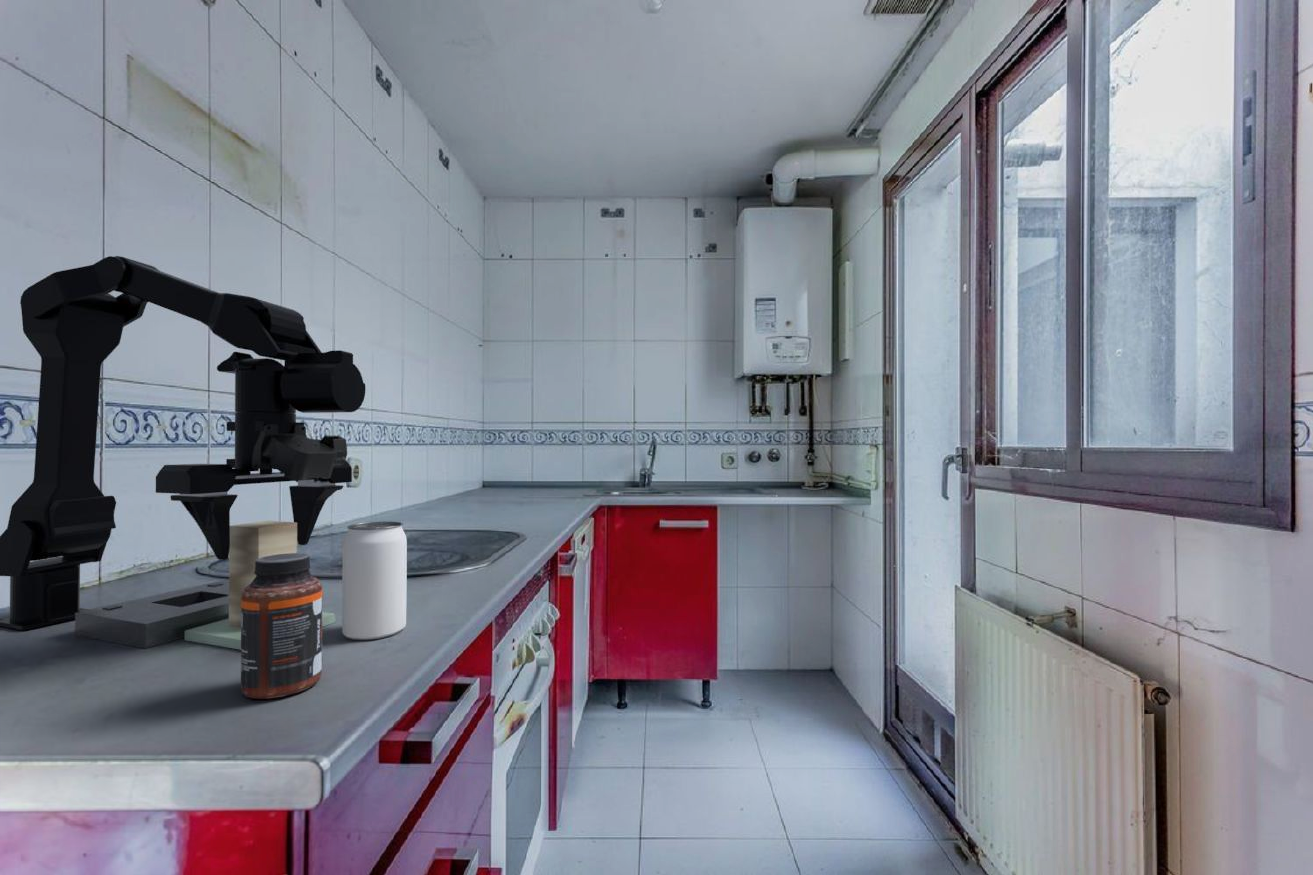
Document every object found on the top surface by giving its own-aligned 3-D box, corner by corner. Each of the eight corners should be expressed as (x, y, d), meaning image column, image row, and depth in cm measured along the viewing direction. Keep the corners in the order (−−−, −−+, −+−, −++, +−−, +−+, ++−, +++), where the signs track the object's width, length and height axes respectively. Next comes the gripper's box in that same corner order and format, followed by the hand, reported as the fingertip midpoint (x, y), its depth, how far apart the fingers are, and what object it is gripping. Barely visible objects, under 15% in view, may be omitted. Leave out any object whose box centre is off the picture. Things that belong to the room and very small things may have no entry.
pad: (184, 640, 61) (184, 630, 61) (274, 613, 71) (274, 605, 71) (250, 651, 58) (250, 641, 58) (335, 622, 68) (335, 613, 68)
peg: (228, 625, 63) (229, 525, 63) (268, 614, 67) (269, 520, 68) (258, 630, 62) (258, 527, 62) (296, 618, 66) (297, 522, 66)
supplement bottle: (338, 678, 52) (338, 552, 52) (274, 707, 46) (275, 566, 46) (289, 669, 54) (290, 548, 54) (223, 696, 48) (224, 560, 48)
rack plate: (75, 635, 63) (75, 611, 63) (226, 597, 78) (226, 578, 78) (145, 648, 59) (145, 623, 59) (290, 606, 74) (290, 586, 74)
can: (380, 643, 61) (381, 529, 61) (328, 639, 62) (328, 528, 62) (418, 624, 67) (418, 521, 67) (369, 621, 68) (370, 520, 68)
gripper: (230, 407, 53) (229, 575, 53) (386, 415, 71) (386, 542, 71) (152, 409, 57) (151, 566, 57) (319, 417, 75) (318, 537, 74)
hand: (265, 551), depth 65 cm, fingers open, 9 cm apart
